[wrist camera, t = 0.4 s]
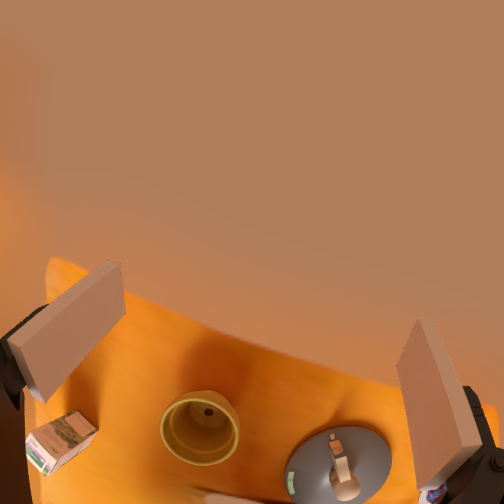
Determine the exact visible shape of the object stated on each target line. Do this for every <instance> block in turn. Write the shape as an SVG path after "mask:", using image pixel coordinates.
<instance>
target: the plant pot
mask: <svg viewBox="0 0 504 504" xmlns="http://www.w3.org/2000/svg"><path fill="white" fill-rule="evenodd" d="M206 409H211V410H212V411H213V414H212V415H207V414H206V413H205V410H206ZM160 434H161V438H162V440H163V442H164V444H165V446H166V447H167V448H168V450H169V451H170V452H171V453H172V454H173V455H175V456H176V457H177V458H179V459H180V460H182V461H184V462H187V463H189V464H193V465H198V466H210V465H215V464H218V463H221V462H223V461H225V460H226V459H227V458H229V457H230V456H231V455H232V454H233V453H234V451H235V450H236V448H237V446H238V442H239V438H240V421H239V417H238V415H237V413H236V411H235V409H234V408H233V407H232V406H231V405H230V404H229V402H228V400H227V399H226V398H225V397H224V396H223V395H222V394H220V393H218V392H216V391H212V390H203V391H193V392H188V393H185V394H183V395H181V396H179V397H178V398H176V399H175V400H174V401H173V402H172V403H171V404H170V405H169V406H168V407H167V409H166V410H165V411H164V413H163V415H162V417H161V421H160Z"/></svg>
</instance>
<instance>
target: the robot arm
mask: <svg viewBox="0 0 504 504" xmlns="http://www.w3.org/2000/svg"><path fill="white" fill-rule="evenodd" d="M125 314H126V310H125V301H124V293H123V284H122V274H121V264H120V263H117V262H113V261H109V260H107V261H106V262H104V263H103V264H101V265H100V266H99V267H97V268H96V269H95V270H93V271H92V272H91V273H89V274H88V275H87V276H85V277H84V278H83V279H81V280H80V281H79V282H77V283H76V284H75V285H73V286H72V287H71V288H69V289H68V290H67V291H66V292H64V293H63V294H62V295H60V296H59V297H58V298H57V299H55V300H54V301H53V302H52V303H50V304H46V305H44V306H42V307H39V308H37V309H36V310H35V311H34V312H32V313H31V314H30V315H29V317H26V318H25V319H24V320H23V322H20V323H19V324H18V325H16V326H15V327H14V328H13V329H12V330H10V331H9V332H8V333H7V334H6V335H4V336H3V337H2V338H1V339H0V504H33V502H32V496H31V490H30V483H29V475H28V466H27V455H26V442H25V415H24V392H23V390H22V389H23V388H24V387H25V386H26V385H27V387H28V389H29V391H30V393H31V395H32V396H34V397H35V398H37V399H39V400H40V401H42V402H44V403H46V402H47V401H48V399H49V398H50V397H51V396H52V395H53V394H54V392H55V391H56V390H57V389H58V388H59V387H60V386H61V384H62V383H63V382H64V381H65V380H66V379H67V378H68V376H69V375H70V374H71V373H72V372H73V371H74V370H75V368H76V367H77V366H78V365H79V364H80V363H81V362H82V361H83V359H84V358H85V357H86V356H87V355H88V354H89V353H90V352H91V351H92V349H93V348H94V347H95V346H96V345H97V344H98V343H99V342H100V341H101V340H102V339H103V337H104V336H105V335H106V334H107V333H108V332H109V331H110V330H111V329H112V328H113V327H114V326H115V324H116V323H117V322H118V321H119V320H120V319H121V318H122V317H123V316H124V315H125ZM396 367H397V371H398V376H399V381H400V385H401V390H402V395H403V400H404V405H405V410H406V415H407V421H408V426H409V432H410V438H411V445H412V451H413V458H414V466H415V473H416V482H417V491H426V490H436V489H437V488H439V487H440V486H441V485H442V484H443V483H444V482H445V481H446V485H447V490H445V491H444V492H443V493H442V494H441V495H439V496H438V497H437V498H436V499H434V500H433V501H432V502H431V504H434V503H436V504H504V449H501V448H496V446H495V443H494V440H493V437H492V434H491V431H490V428H489V425H488V422H487V420H486V417H484V415H485V414H484V412H483V409H482V408H481V404H480V401H479V399H478V396H477V395H476V394H475V392H473V390H472V389H471V388H470V386H462V384H461V382H460V379H459V377H458V374H457V372H456V369H455V367H454V365H453V363H452V360H451V358H450V355H449V353H448V351H447V349H446V346H445V344H444V342H443V340H442V337H441V335H440V333H439V331H438V329H437V327H436V325H435V322H434V320H433V319H432V318H424V317H417V319H416V322H415V324H414V327H413V329H412V331H411V334H410V336H409V338H408V341H407V343H406V345H405V347H404V350H403V352H402V354H401V356H400V358H399V361H398V363H397V365H396Z"/></svg>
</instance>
